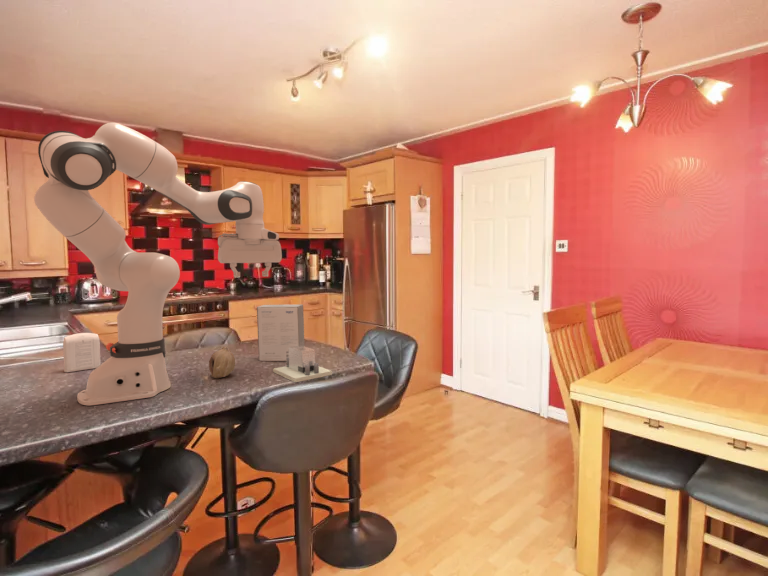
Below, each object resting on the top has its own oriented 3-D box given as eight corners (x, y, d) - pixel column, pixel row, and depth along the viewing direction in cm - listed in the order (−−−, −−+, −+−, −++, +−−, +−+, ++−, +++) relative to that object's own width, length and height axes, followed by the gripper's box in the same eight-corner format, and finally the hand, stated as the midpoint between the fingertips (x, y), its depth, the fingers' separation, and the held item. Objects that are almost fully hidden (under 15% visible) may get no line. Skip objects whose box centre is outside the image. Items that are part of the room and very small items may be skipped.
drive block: (302, 374, 134) (302, 351, 134) (288, 368, 141) (288, 347, 141) (315, 371, 137) (315, 349, 137) (301, 365, 144) (301, 345, 144)
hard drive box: (305, 357, 162) (304, 304, 161) (299, 362, 155) (298, 306, 153) (265, 356, 164) (264, 304, 162) (257, 361, 156) (256, 306, 155)
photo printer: (99, 365, 151) (97, 330, 150) (102, 367, 148) (100, 332, 147) (63, 371, 143) (60, 334, 142) (65, 373, 140) (63, 336, 139)
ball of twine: (220, 380, 141) (220, 349, 143) (242, 377, 139) (242, 346, 141) (200, 379, 132) (201, 346, 135) (223, 376, 130) (224, 343, 133)
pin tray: (295, 382, 130) (295, 368, 129) (273, 372, 141) (273, 359, 141) (332, 374, 138) (331, 361, 138) (308, 365, 149) (308, 353, 149)
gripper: (221, 232, 130) (222, 278, 131) (283, 234, 143) (284, 276, 144) (214, 233, 135) (215, 277, 136) (275, 235, 148) (276, 275, 149)
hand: (251, 277), depth 140 cm, fingers open, 8 cm apart
